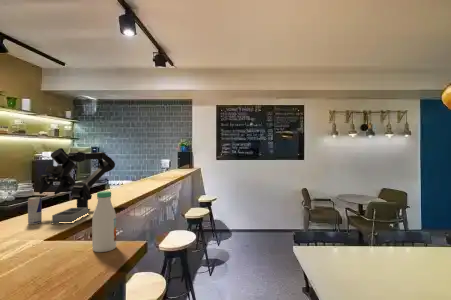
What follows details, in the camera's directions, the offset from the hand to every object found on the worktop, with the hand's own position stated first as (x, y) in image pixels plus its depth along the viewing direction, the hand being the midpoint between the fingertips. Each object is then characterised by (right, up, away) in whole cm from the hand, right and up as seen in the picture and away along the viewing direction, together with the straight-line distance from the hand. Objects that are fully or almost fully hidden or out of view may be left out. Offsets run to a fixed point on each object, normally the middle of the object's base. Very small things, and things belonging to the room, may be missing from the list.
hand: (47, 193), depth 142 cm
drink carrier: (+12, -13, +1) cm, 17 cm away
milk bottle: (+46, -13, -42) cm, 63 cm away
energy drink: (-2, -13, -7) cm, 15 cm away
